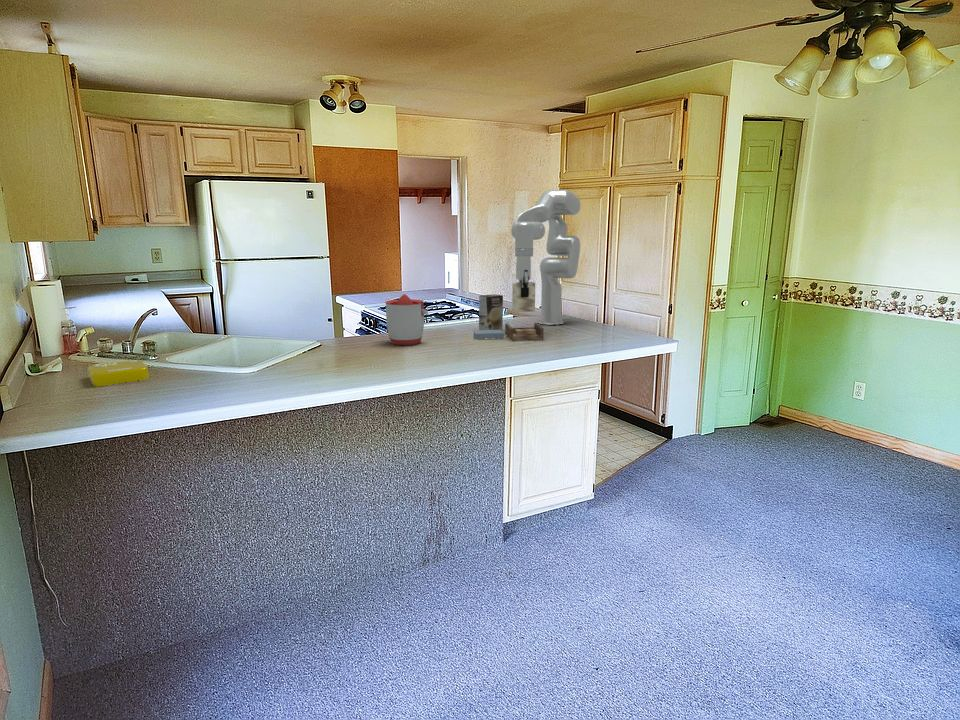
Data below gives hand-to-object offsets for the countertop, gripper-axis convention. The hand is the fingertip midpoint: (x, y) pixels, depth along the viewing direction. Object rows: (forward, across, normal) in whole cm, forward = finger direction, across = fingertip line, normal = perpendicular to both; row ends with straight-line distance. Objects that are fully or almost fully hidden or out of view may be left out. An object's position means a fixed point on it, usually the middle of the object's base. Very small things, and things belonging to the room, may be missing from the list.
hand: (523, 295), depth 253 cm
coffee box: (+18, -14, -12) cm, 26 cm away
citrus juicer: (+17, +10, -49) cm, 53 cm away
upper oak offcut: (+16, +7, 0) cm, 17 cm away
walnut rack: (+17, +3, 0) cm, 18 cm away
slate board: (+17, +2, -15) cm, 23 cm away
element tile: (+16, +56, -140) cm, 151 cm away
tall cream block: (+6, 0, 0) cm, 6 cm away
